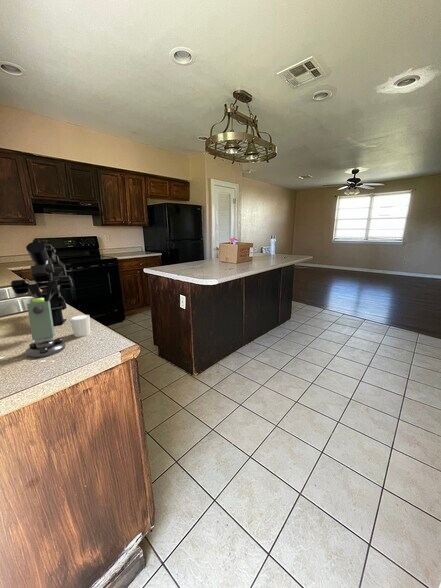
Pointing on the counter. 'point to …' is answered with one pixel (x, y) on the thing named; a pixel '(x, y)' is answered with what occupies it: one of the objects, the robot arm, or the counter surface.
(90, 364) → the counter surface
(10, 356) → the counter surface
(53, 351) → the base
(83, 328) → the white cup
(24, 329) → the counter surface
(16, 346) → the counter surface
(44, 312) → the dome-topped green pillar
